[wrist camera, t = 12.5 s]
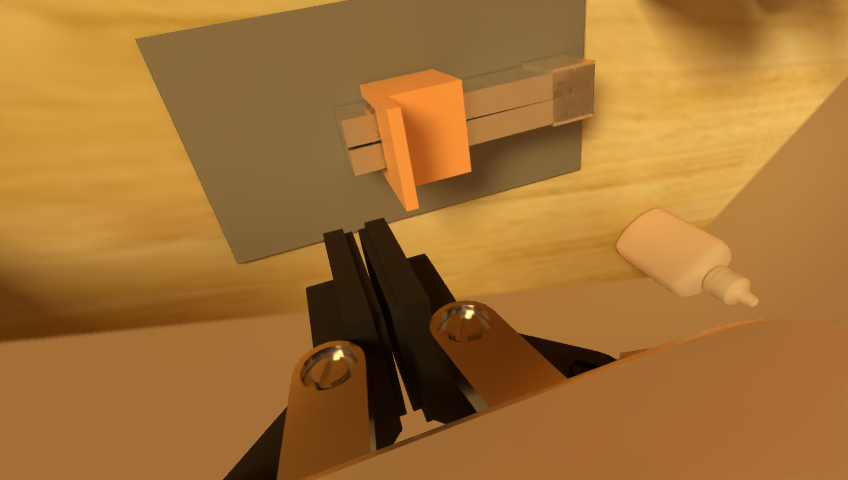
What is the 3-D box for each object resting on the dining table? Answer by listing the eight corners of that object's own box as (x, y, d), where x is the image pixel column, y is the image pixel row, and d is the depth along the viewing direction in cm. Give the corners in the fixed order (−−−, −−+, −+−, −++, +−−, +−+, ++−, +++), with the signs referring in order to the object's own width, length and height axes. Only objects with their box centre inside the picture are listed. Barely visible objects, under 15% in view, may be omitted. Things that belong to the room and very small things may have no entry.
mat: (238, 261, 31) (237, 264, 31) (137, 38, 24) (135, 39, 23) (577, 167, 36) (579, 169, 36) (582, -43, 28) (586, -44, 28)
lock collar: (377, 165, 30) (406, 211, 23) (359, 85, 28) (386, 109, 20) (443, 148, 31) (491, 188, 24) (432, 68, 28) (483, 87, 21)
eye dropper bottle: (662, 240, 43) (780, 310, 33) (613, 259, 42) (718, 338, 32) (664, 202, 41) (792, 265, 31) (613, 222, 40) (726, 293, 30)
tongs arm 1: (347, 160, 30) (356, 179, 26) (340, 134, 29) (348, 151, 25) (560, 105, 32) (592, 116, 29) (560, 80, 31) (593, 88, 28)
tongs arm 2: (339, 131, 29) (348, 147, 25) (333, 104, 28) (340, 117, 24) (560, 80, 31) (593, 89, 28) (560, 54, 30) (595, 60, 27)
